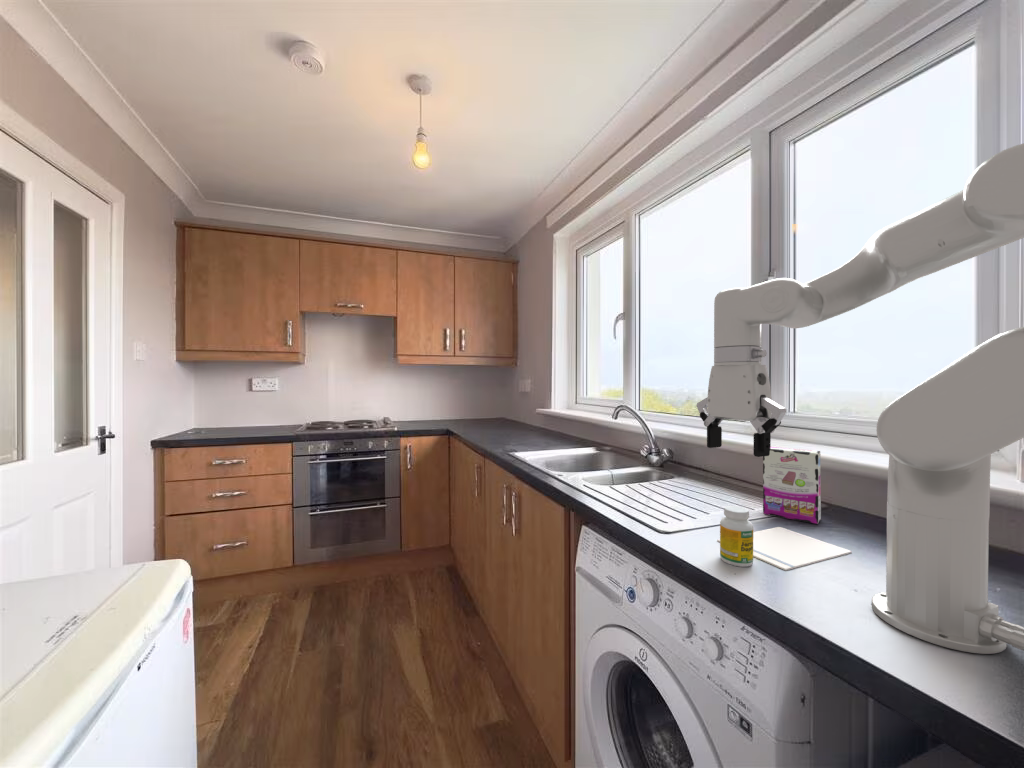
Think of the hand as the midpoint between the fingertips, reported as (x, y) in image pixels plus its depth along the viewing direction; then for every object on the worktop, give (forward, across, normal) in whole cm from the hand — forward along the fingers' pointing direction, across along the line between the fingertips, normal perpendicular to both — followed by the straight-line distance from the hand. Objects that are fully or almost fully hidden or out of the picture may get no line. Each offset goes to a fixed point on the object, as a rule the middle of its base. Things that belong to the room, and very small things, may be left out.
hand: (736, 451), depth 74 cm
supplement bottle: (+20, 0, 0) cm, 20 cm away
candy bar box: (+20, +12, -33) cm, 41 cm away
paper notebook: (+20, +1, -14) cm, 25 cm away
